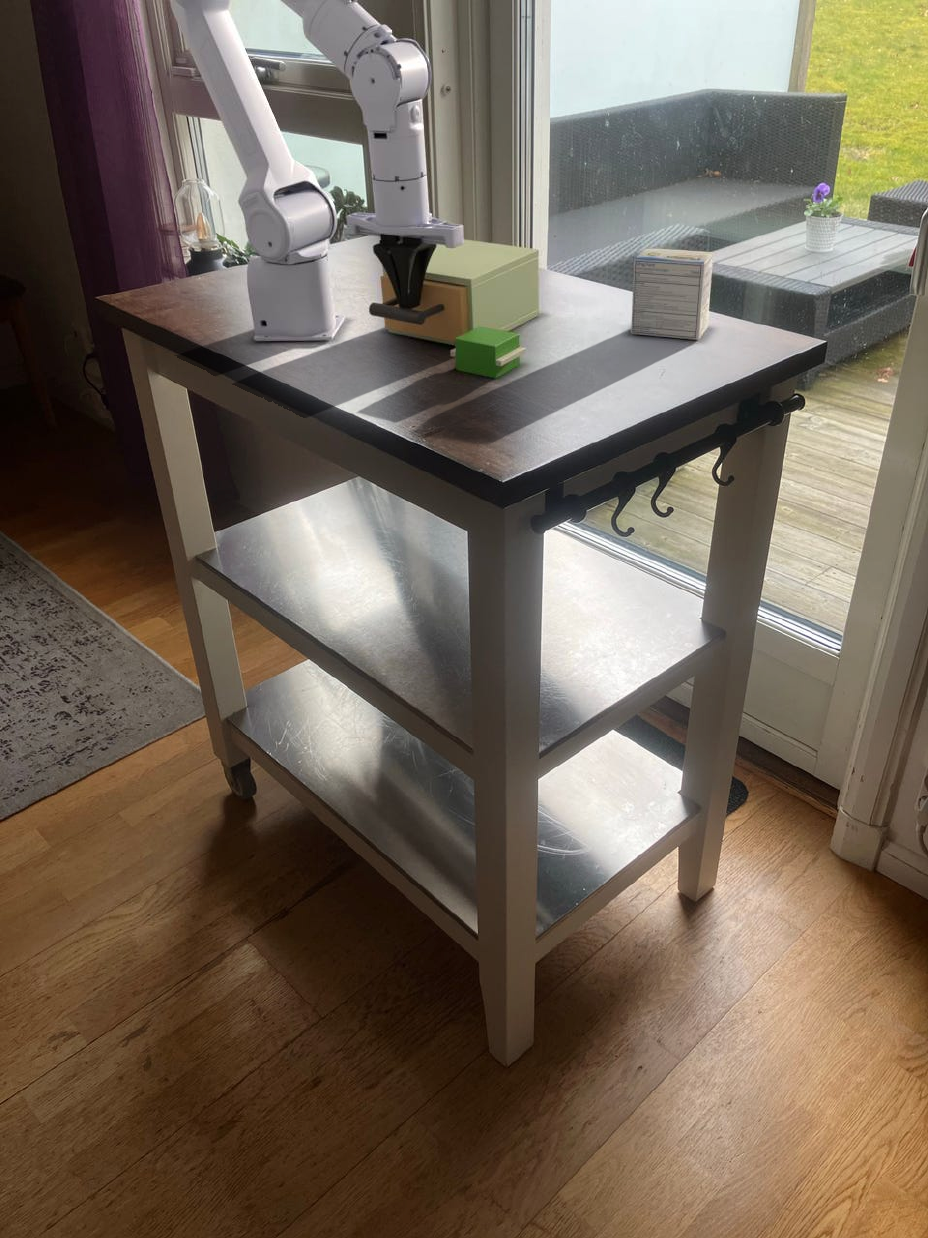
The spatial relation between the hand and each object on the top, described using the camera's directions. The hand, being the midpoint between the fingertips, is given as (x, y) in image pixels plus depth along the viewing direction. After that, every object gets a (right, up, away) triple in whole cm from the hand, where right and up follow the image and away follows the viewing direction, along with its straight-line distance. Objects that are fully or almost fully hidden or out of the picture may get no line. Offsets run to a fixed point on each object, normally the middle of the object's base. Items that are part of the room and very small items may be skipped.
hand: (409, 306), depth 112 cm
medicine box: (+30, -2, +3) cm, 30 cm away
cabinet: (+6, +1, +9) cm, 11 cm away
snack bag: (+9, -8, -3) cm, 12 cm away
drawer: (+4, 0, +6) cm, 7 cm away
